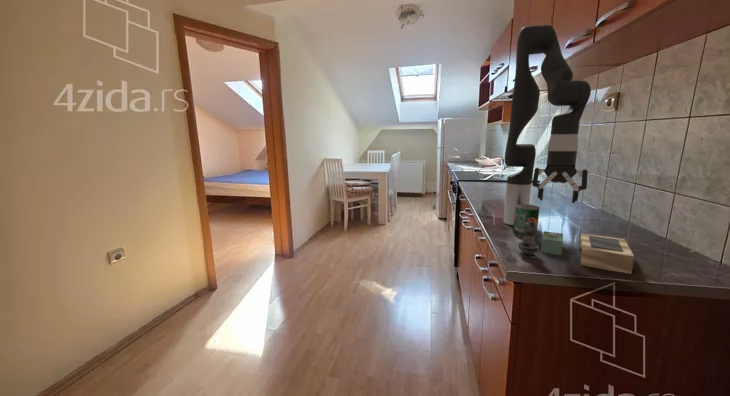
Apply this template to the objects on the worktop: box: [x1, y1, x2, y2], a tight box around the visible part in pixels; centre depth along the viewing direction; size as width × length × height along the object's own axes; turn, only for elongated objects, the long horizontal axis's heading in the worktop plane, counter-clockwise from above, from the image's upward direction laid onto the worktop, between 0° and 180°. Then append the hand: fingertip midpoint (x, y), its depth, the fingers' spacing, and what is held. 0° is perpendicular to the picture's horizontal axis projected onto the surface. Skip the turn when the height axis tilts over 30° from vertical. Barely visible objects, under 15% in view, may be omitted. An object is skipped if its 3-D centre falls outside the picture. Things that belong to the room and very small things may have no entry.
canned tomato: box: [512, 204, 540, 239], centre depth 111 cm, size 8×8×11 cm
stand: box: [578, 233, 635, 275], centre depth 89 cm, size 16×11×5 cm
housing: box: [540, 231, 564, 256], centre depth 97 cm, size 9×6×5 cm, turn 147°
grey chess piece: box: [517, 219, 540, 260], centre depth 92 cm, size 6×6×12 cm
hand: (556, 201), depth 95 cm, fingers open, 8 cm apart
